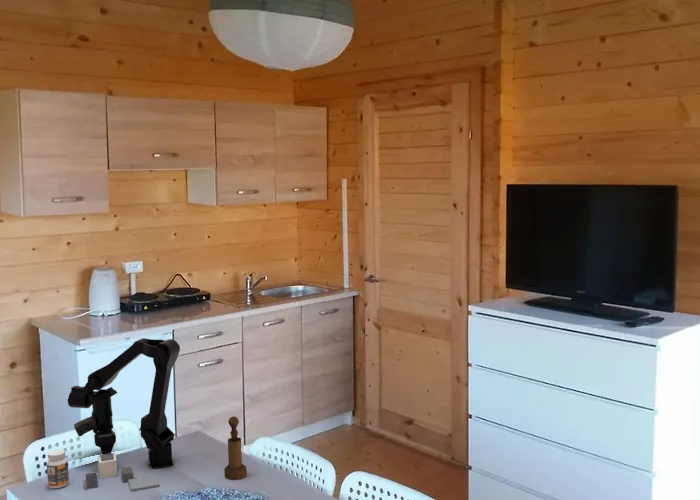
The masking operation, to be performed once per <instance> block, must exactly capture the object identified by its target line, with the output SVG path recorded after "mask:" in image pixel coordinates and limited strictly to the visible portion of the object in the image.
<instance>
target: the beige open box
mask: <svg viewBox="0 0 700 500" xmlns="http://www.w3.org/2000/svg"><path fill="white" fill-rule="evenodd" d="M97 465H98V474H99V475H98V477H99V479H106V478H112V477H117V476H118V463H117V456H116V453H114V452H111V453H109V454H103V455H102V454H100V455H97Z"/></svg>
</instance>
